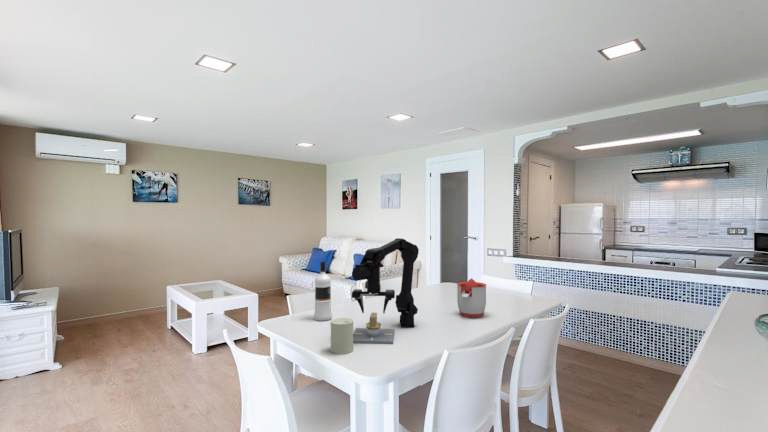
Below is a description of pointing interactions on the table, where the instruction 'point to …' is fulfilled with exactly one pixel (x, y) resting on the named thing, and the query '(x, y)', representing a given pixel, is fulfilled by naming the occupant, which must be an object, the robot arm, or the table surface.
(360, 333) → the post base
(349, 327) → the can
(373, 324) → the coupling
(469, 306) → the citrus juicer
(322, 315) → the vodka
